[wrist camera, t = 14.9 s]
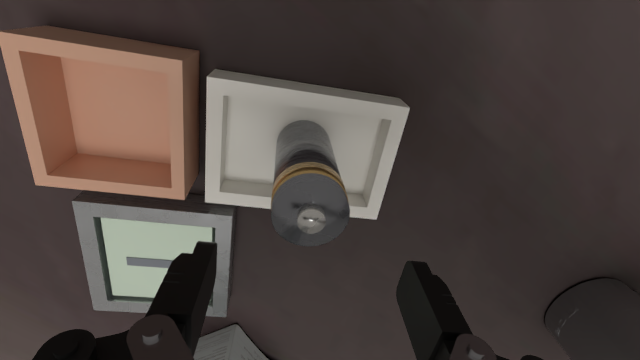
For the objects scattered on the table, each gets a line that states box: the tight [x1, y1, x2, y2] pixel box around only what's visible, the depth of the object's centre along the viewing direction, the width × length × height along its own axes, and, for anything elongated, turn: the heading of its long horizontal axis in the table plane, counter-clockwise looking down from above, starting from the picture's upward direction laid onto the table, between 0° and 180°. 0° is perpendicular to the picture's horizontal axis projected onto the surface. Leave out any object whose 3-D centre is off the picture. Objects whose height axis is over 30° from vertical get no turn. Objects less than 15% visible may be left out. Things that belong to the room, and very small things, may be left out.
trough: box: [205, 69, 410, 219], centre depth 24 cm, size 13×9×2 cm
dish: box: [0, 26, 200, 200], centre depth 21 cm, size 9×9×4 cm
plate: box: [101, 217, 215, 300], centre depth 28 cm, size 8×8×2 cm
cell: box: [271, 120, 350, 246], centre depth 21 cm, size 4×4×10 cm
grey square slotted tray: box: [72, 190, 237, 317], centre depth 28 cm, size 11×11×2 cm
